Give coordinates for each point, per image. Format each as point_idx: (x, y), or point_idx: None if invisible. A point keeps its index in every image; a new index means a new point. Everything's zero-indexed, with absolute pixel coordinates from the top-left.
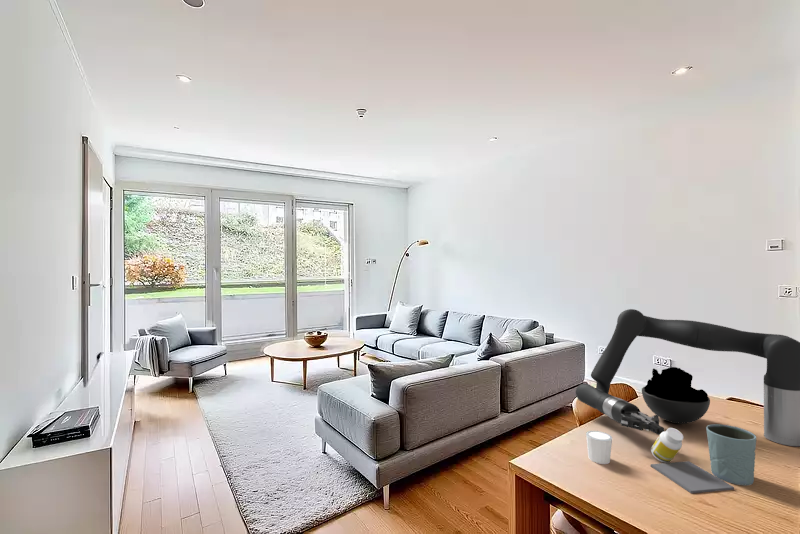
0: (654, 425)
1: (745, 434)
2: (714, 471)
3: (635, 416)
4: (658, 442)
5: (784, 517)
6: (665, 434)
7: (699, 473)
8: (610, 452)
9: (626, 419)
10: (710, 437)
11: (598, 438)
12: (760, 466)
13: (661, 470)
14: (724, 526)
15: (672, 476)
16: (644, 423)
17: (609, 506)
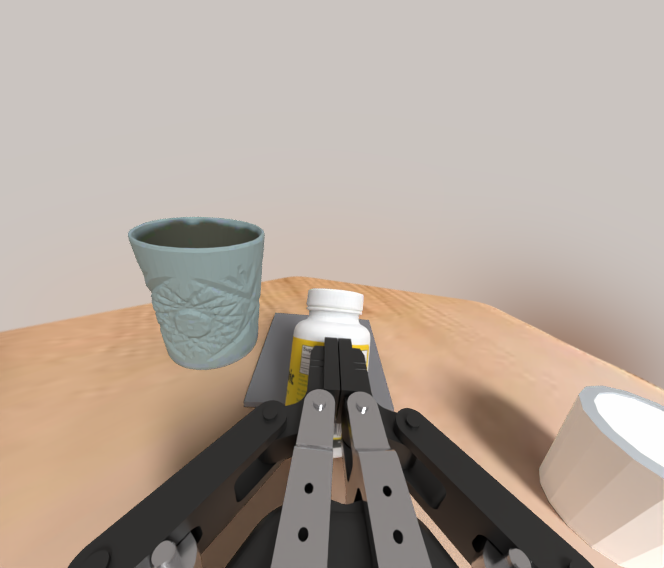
0: (353, 362)
1: (153, 235)
2: (254, 339)
3: (422, 548)
4: (368, 362)
5: (284, 281)
6: (360, 312)
7: (291, 350)
8: (556, 436)
9: (532, 515)
10: (256, 259)
11: (650, 411)
12: (55, 354)
13: (381, 376)
14: (376, 287)
15: (370, 354)
16: (384, 421)
17: (524, 328)
